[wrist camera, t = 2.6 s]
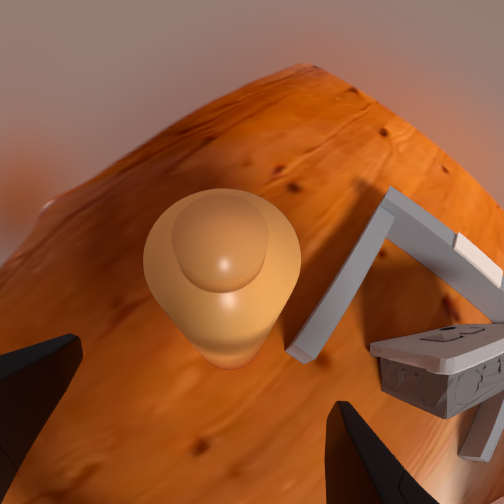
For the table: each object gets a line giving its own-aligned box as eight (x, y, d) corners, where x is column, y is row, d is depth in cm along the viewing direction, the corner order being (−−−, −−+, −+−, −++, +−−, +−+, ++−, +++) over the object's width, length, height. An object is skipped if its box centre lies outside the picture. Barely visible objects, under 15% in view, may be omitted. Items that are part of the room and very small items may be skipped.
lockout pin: (267, 361, 19) (333, 297, 7) (203, 375, 18) (140, 337, 6) (252, 302, 21) (280, 157, 8) (191, 314, 20) (131, 182, 8)
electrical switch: (453, 324, 21) (531, 297, 12) (458, 381, 19) (539, 373, 10) (363, 343, 20) (441, 324, 11) (369, 410, 18) (448, 427, 9)
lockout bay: (466, 460, 15) (499, 462, 11) (284, 351, 19) (297, 340, 16) (512, 323, 21) (540, 310, 17) (373, 212, 25) (392, 182, 21)
